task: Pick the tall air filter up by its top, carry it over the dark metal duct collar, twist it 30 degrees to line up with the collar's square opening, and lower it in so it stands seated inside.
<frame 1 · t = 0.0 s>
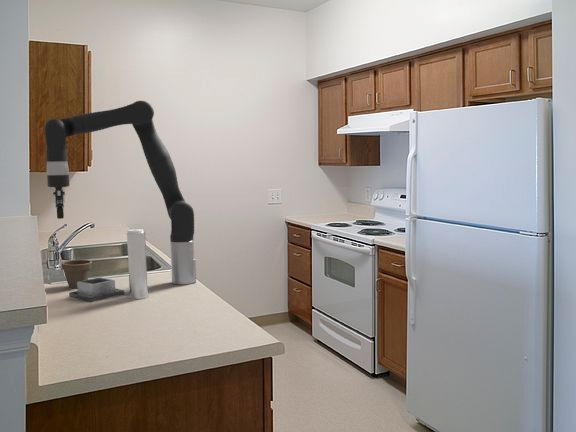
hand: (60, 217, 200), 29 cm above the worktop, fingers open, 8 cm apart
duct collar: (96, 295, 201), on the worktop
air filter: (138, 297, 197), on the worktop
flower pot: (78, 287, 216), on the worktop
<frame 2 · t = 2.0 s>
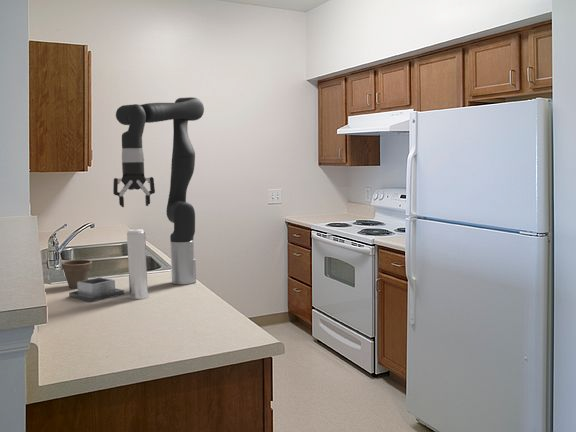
hand: (134, 206, 194), 33 cm above the worktop, fingers open, 8 cm apart
nothing on the worktop moved.
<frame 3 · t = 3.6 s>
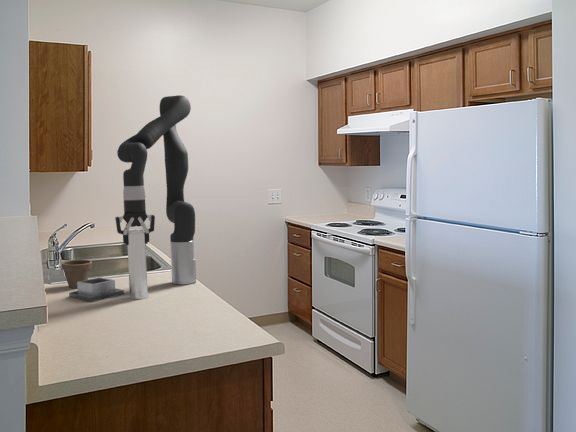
hand: (136, 244, 195), 20 cm above the worktop, fingers closed on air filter, 6 cm apart
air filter: (138, 297, 197), on the worktop, touching gripper
everything else where it was.
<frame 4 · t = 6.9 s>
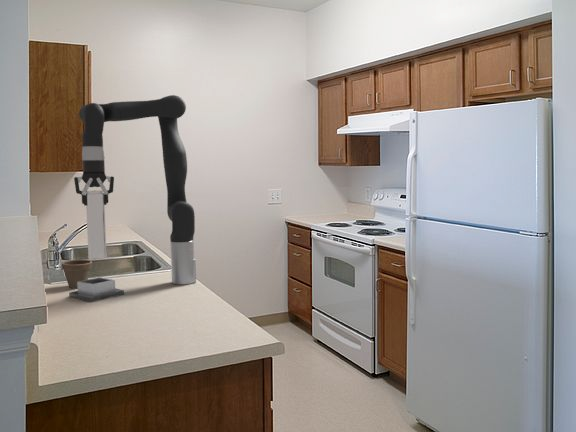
hand: (95, 204, 197), 34 cm above the worktop, fingers closed on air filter, 6 cm apart
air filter: (97, 258, 199), point 14 cm above the worktop, touching gripper
everything else where it was.
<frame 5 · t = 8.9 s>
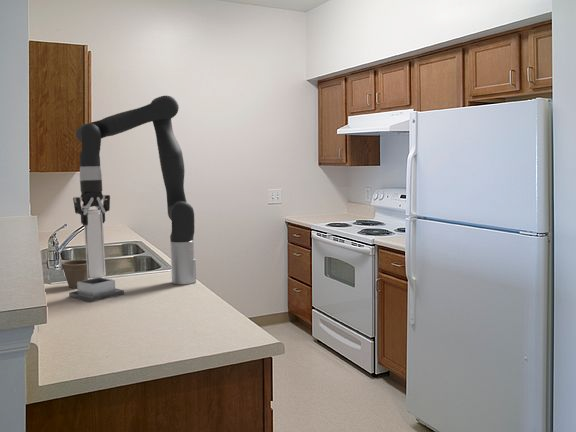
hand: (93, 224, 199), 27 cm above the worktop, fingers closed on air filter, 6 cm apart
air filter: (96, 276, 201), point 7 cm above the worktop, touching gripper
everything else where it was.
when the fingers open (23 cm above the worktop, at t = 10.3 s): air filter drops 1 cm, resting on duct collar.
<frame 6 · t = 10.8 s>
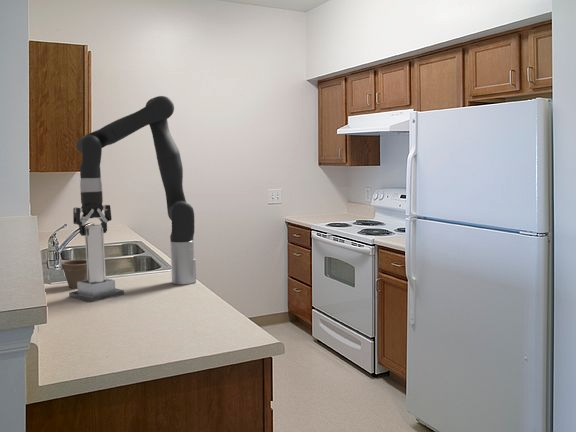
hand: (93, 234, 199), 23 cm above the worktop, fingers open, 8 cm apart
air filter: (97, 291, 201), point 1 cm above the worktop, touching duct collar
everything else where it was.
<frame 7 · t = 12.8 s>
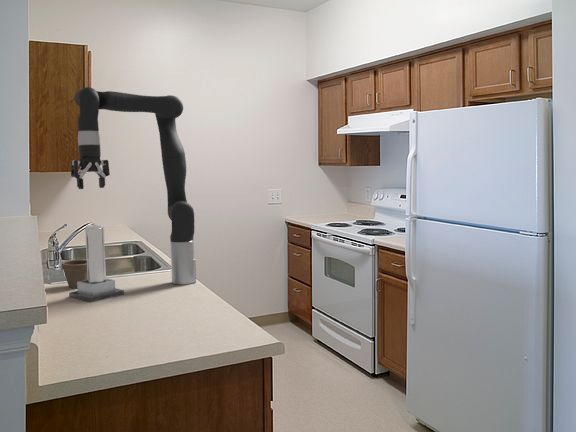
hand: (91, 188, 197), 40 cm above the worktop, fingers open, 8 cm apart
nothing on the worktop moved.
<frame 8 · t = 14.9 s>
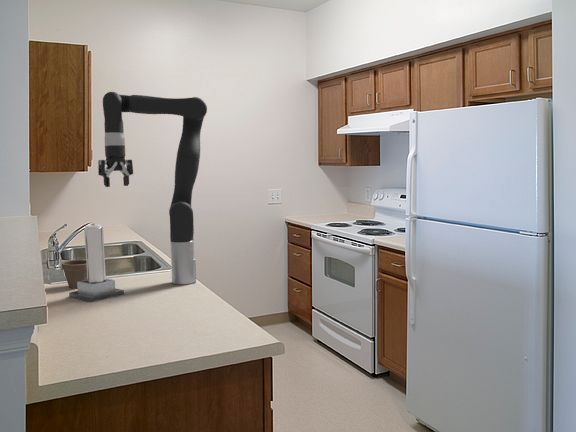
hand: (116, 186, 211), 40 cm above the worktop, fingers open, 8 cm apart
nothing on the worktop moved.
at the end: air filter 0.2 cm off-centre on the duct collar, point 1.3 cm above the duct collar's base; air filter tilted 0°; the gripper is holding nothing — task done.
